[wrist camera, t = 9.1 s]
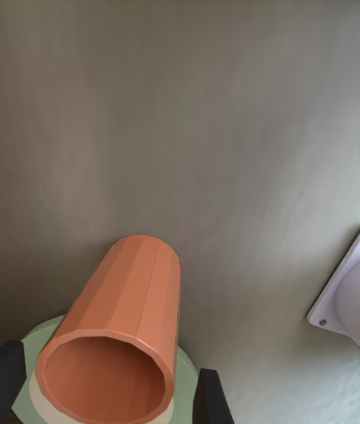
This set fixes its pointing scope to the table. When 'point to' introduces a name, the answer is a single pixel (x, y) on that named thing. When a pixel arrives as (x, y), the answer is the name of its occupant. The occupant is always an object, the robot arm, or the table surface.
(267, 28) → the table surface
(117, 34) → the table surface
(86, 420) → the cup
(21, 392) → the plate
